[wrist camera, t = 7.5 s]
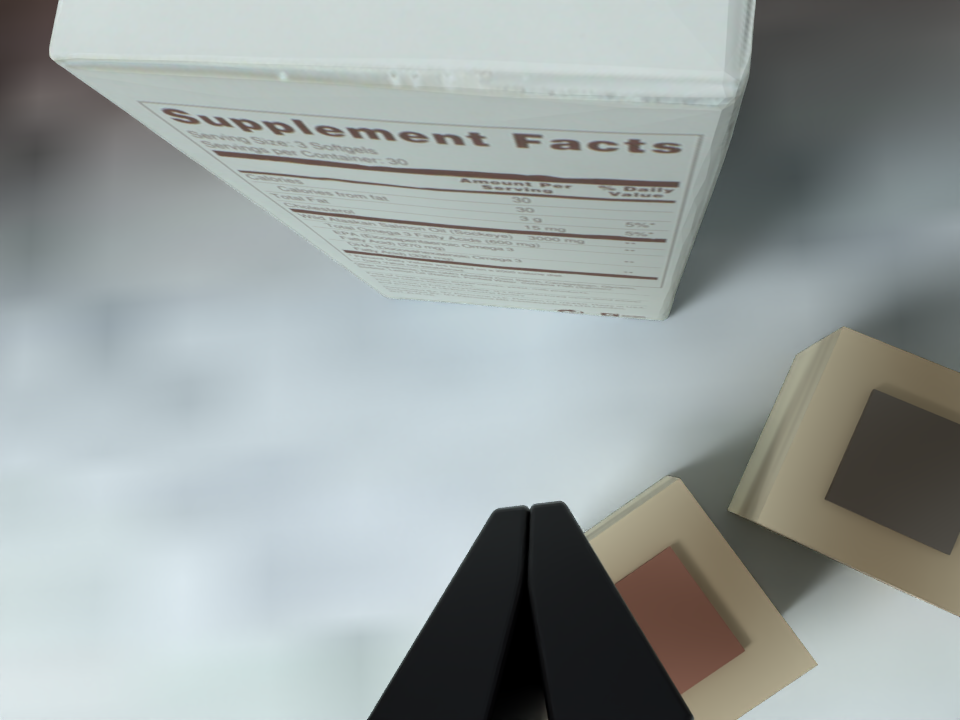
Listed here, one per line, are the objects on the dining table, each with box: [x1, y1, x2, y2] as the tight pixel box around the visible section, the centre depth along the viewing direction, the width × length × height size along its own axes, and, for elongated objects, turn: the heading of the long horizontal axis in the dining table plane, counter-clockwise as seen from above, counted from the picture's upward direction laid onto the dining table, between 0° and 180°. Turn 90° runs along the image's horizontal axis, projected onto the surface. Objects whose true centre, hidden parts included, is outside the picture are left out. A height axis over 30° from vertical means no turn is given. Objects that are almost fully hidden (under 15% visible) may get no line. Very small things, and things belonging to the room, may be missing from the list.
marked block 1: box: [584, 476, 818, 720], centre depth 16 cm, size 4×4×4 cm
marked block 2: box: [727, 326, 960, 617], centre depth 16 cm, size 4×4×4 cm
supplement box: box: [49, 0, 756, 321], centre depth 14 cm, size 7×7×13 cm
